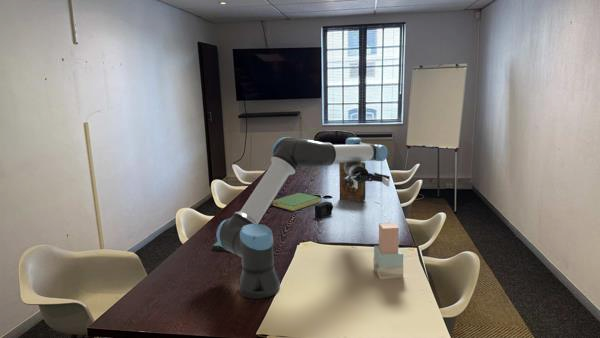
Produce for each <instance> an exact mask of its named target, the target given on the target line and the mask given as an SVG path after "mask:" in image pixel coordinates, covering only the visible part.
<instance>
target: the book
mask: <svg viewBox="0 0 600 338" xmlns="http://www.w3.org/2000/svg"><path fill="white" fill-rule="evenodd" d="M345 163H346V162H340V163H339V164H338V166H339V169H338V170H339V175H338V176H339V200H340V201H344V202H353V203H362V202H364V201H365V200H366V181H365V182H364V183H358V189H356V188H355V187H354V186H353V185H352V186H349V183H348V184H346V185H345V184H344V179H345V178H346V177H347V174H346V173H345V171H344V165H345ZM361 166H362V167H364V168H365V169H366V162H365V161H361Z"/></svg>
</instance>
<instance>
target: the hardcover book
mask: <svg viewBox="0 0 600 338" xmlns="http://www.w3.org/2000/svg"><path fill="white" fill-rule="evenodd" d="M320 203H321V202H320V196H316V195H312V194H306V193H303V192H296V193H294V194H289V195H287V196H283V197H280V198H276V199H273V201H272V202H271V204H272V205H271V206H274V207H277V208H281V209H284V210H288V211H291V212H294V211H298V210H300V209H304V208H306V207H310V206H312V205H317V204H320Z"/></svg>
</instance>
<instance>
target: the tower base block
mask: <svg viewBox="0 0 600 338" xmlns="http://www.w3.org/2000/svg"><path fill="white" fill-rule="evenodd" d="M372 264H373V266H372V267H373V271H374V270H375V271H374V272H375V273H377V274H376V275H377V277H378V278H379V280H391V279H399V278H400V279H401V278H402V279H403V278H404V265H403V266H397V267H379V265H378V264H377V262H376V260H375V258H374V257H373V263H372Z"/></svg>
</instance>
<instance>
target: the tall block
mask: <svg viewBox="0 0 600 338" xmlns="http://www.w3.org/2000/svg"><path fill="white" fill-rule="evenodd" d="M399 230H400V229H399V226H398V225H397V224H396V223H395V222H380V223H378V246H379V248H380V250H381V252H382V253H398V248H399V237H400V236H399V235H400V234H399Z"/></svg>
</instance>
